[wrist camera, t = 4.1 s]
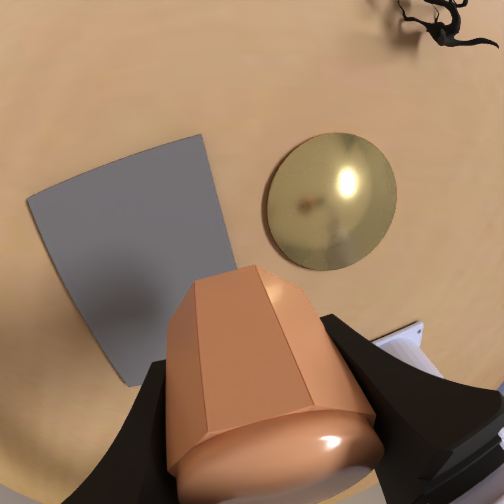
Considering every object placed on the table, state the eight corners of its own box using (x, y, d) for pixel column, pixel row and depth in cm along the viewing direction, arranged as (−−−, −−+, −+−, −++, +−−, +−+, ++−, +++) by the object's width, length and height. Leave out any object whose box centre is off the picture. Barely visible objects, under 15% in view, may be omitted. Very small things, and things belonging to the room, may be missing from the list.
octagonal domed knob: (309, 354, 14) (372, 483, 8) (197, 385, 13) (215, 526, 7) (296, 253, 11) (400, 404, 5) (152, 291, 11) (137, 473, 5)
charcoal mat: (260, 351, 23) (261, 356, 23) (128, 382, 22) (128, 387, 22) (201, 134, 16) (201, 134, 15) (30, 196, 15) (26, 198, 14)
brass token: (395, 248, 21) (397, 249, 21) (280, 284, 21) (281, 286, 20) (388, 124, 17) (391, 124, 17) (252, 148, 17) (253, 149, 16)
